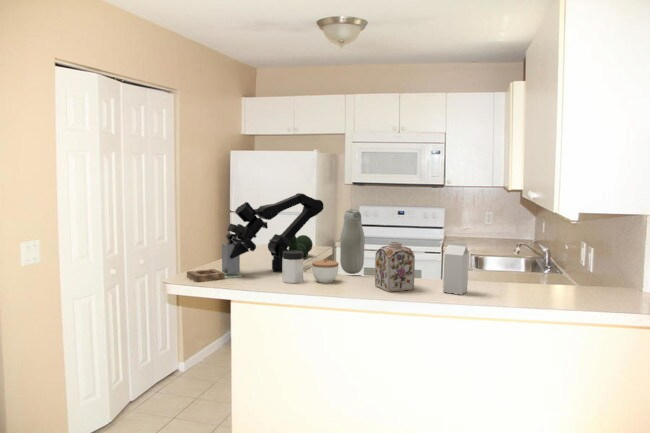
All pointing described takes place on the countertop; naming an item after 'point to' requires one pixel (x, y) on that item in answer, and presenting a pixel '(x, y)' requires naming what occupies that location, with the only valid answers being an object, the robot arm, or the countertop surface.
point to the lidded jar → (325, 270)
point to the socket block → (205, 275)
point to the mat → (232, 275)
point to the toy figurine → (301, 244)
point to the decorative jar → (394, 268)
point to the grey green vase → (352, 243)
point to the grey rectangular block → (227, 263)
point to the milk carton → (456, 268)
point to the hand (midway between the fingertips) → (227, 257)
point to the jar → (292, 266)
